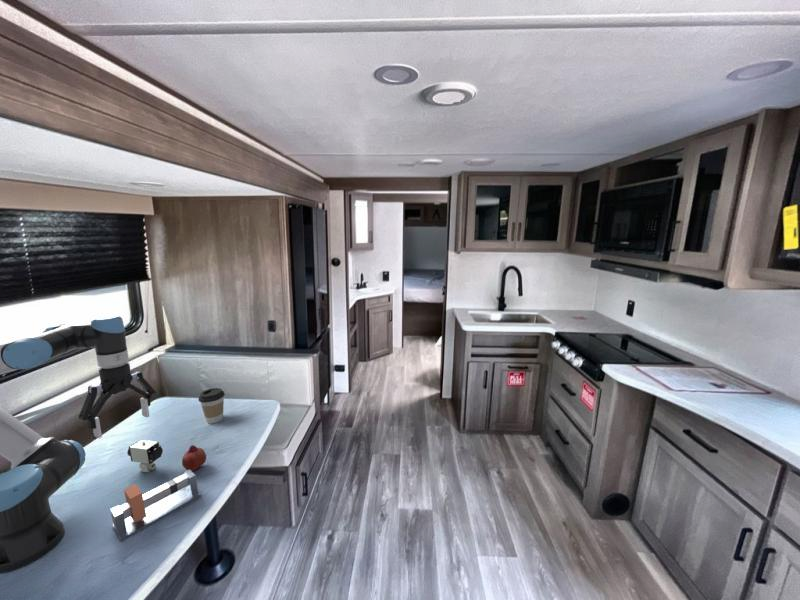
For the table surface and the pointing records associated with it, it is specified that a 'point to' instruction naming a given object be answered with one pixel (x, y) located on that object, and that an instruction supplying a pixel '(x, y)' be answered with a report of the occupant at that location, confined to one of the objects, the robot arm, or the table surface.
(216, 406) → the coffee cup
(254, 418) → the table surface
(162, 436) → the table surface
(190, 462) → the fruit
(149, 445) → the pneumatic valve
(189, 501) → the grey rail frame
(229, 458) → the table surface
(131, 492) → the terracotta rectangular block
